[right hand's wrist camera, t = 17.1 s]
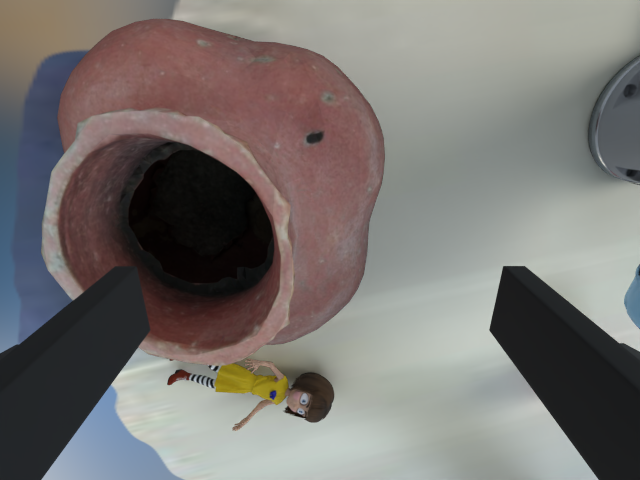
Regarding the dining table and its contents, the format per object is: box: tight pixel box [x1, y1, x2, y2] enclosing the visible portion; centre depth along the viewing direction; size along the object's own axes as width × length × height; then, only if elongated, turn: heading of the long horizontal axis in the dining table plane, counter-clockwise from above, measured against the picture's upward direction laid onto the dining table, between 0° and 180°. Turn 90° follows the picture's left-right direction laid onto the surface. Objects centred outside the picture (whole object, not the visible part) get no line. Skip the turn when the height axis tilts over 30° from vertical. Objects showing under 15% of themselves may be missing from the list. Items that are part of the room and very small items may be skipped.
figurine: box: [167, 359, 334, 431], centre depth 53 cm, size 13×8×25 cm
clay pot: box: [41, 19, 385, 366], centre depth 32 cm, size 30×30×25 cm
